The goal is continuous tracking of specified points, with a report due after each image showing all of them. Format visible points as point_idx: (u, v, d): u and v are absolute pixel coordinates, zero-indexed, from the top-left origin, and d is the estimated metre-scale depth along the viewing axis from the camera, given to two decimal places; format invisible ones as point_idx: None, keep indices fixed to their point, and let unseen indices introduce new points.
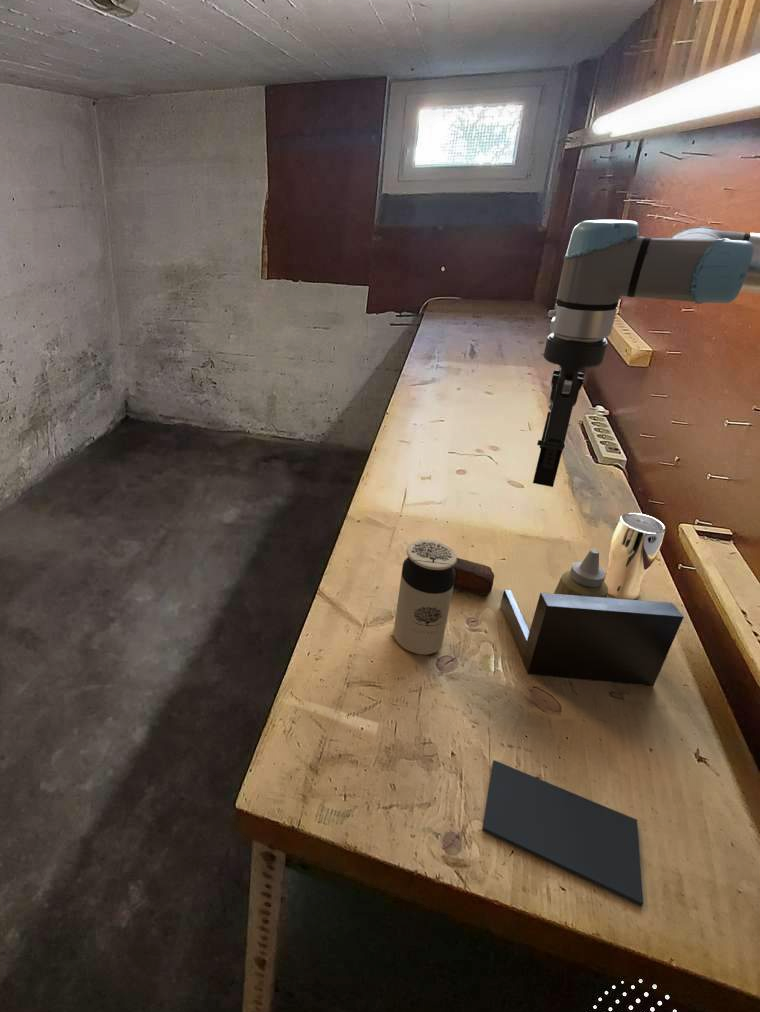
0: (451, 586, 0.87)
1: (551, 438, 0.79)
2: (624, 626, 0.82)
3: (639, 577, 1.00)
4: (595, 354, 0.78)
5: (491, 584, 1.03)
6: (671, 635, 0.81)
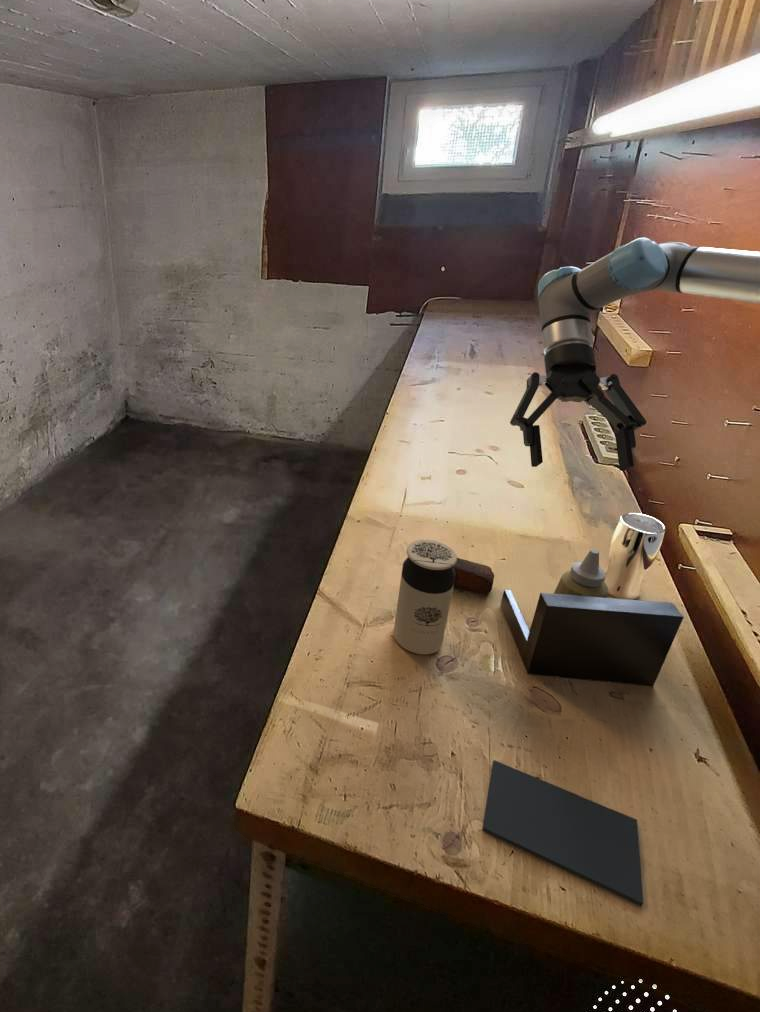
0: (451, 586, 0.87)
1: (514, 416, 0.97)
2: (624, 626, 0.82)
3: (639, 577, 1.00)
4: (559, 353, 0.96)
5: (491, 584, 1.03)
6: (671, 635, 0.81)
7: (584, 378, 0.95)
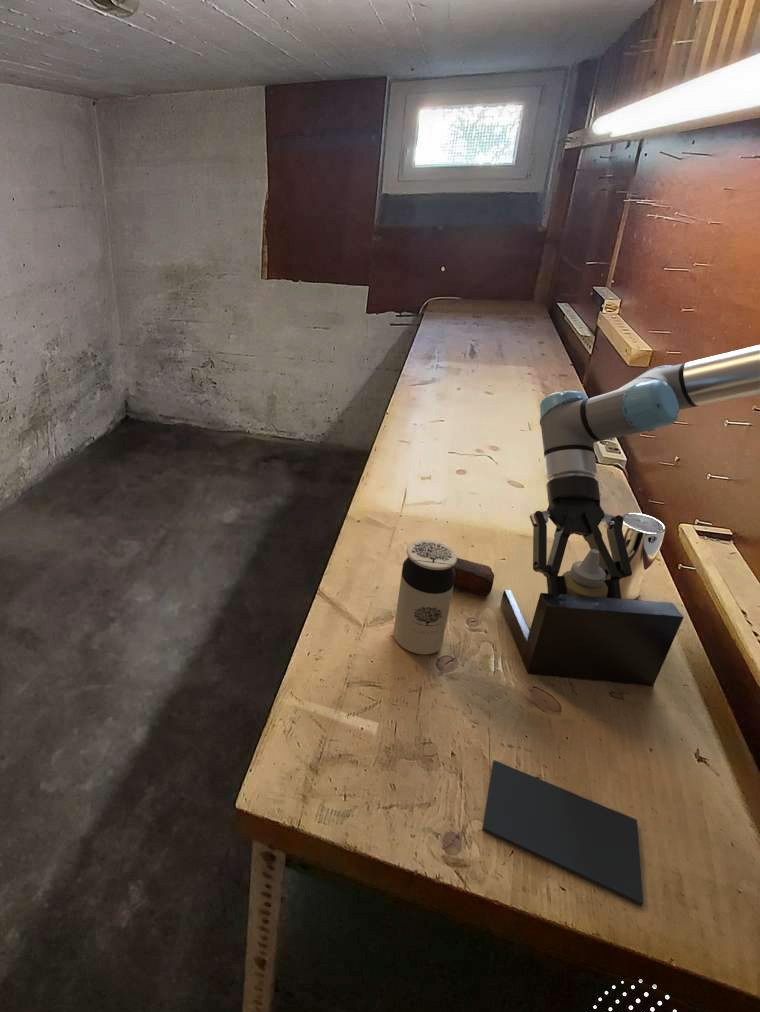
0: (451, 586, 0.87)
1: (535, 562, 0.93)
2: (624, 626, 0.82)
3: (639, 577, 1.00)
4: (561, 485, 0.93)
5: (491, 584, 1.03)
6: (671, 635, 0.81)
7: (588, 513, 0.92)
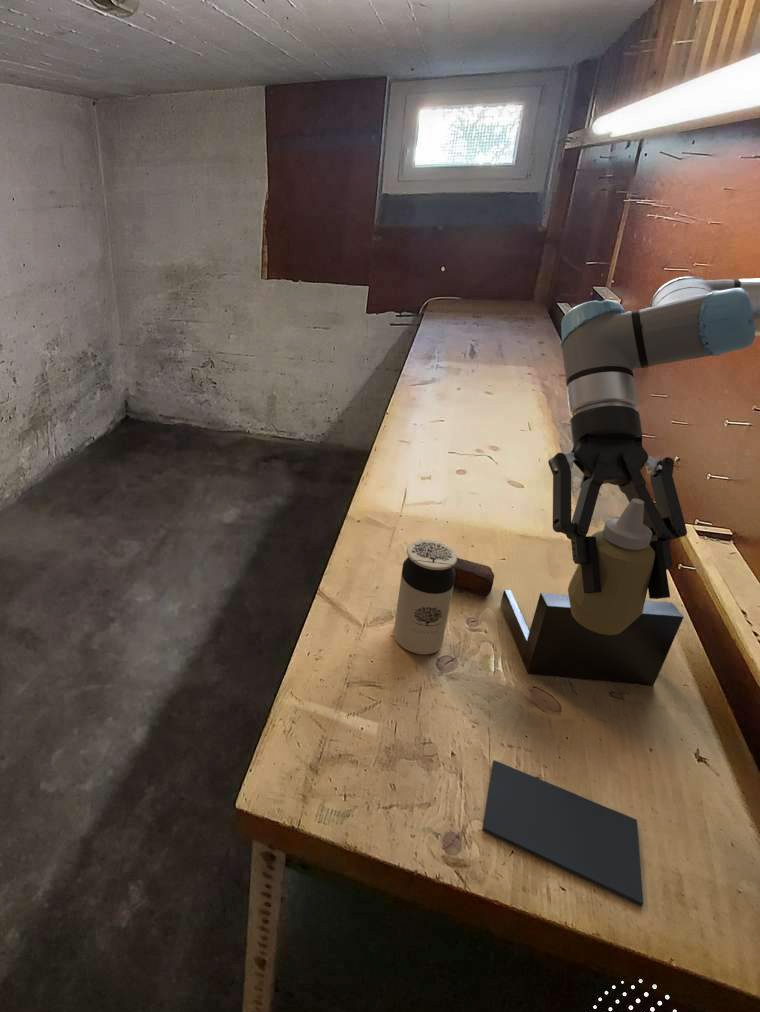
0: (451, 586, 0.87)
1: (555, 520, 0.70)
2: None
3: None
4: (591, 419, 0.71)
5: (491, 584, 1.03)
6: (671, 635, 0.81)
7: (627, 454, 0.69)
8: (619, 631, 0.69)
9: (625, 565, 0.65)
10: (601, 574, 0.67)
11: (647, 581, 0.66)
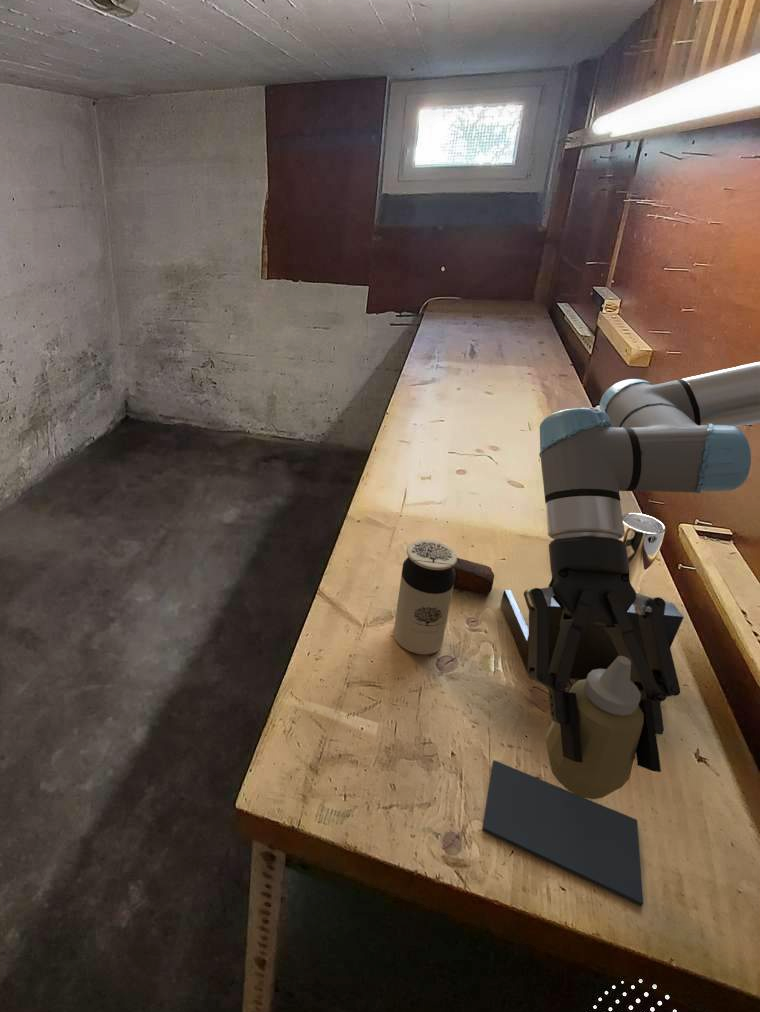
0: (451, 586, 0.87)
1: (531, 667, 0.62)
2: None
3: (639, 577, 1.00)
4: (571, 551, 0.62)
5: (491, 584, 1.03)
6: (671, 635, 0.81)
7: (612, 594, 0.61)
8: (603, 796, 0.61)
9: (610, 733, 0.56)
10: (582, 737, 0.58)
11: (635, 748, 0.57)
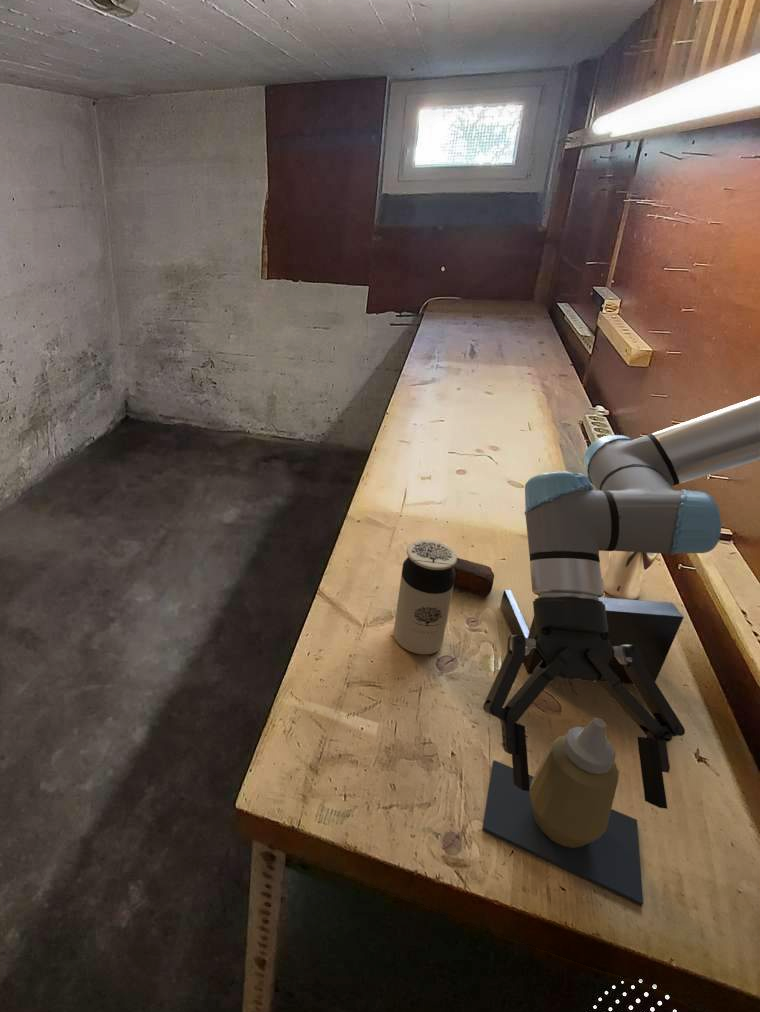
0: (451, 586, 0.87)
1: (488, 700, 0.66)
2: (624, 626, 0.82)
3: (639, 577, 1.00)
4: (553, 611, 0.66)
5: (491, 584, 1.03)
6: (671, 635, 0.81)
7: (591, 653, 0.64)
8: (582, 845, 0.65)
9: (586, 790, 0.60)
10: (562, 792, 0.62)
11: (610, 803, 0.61)
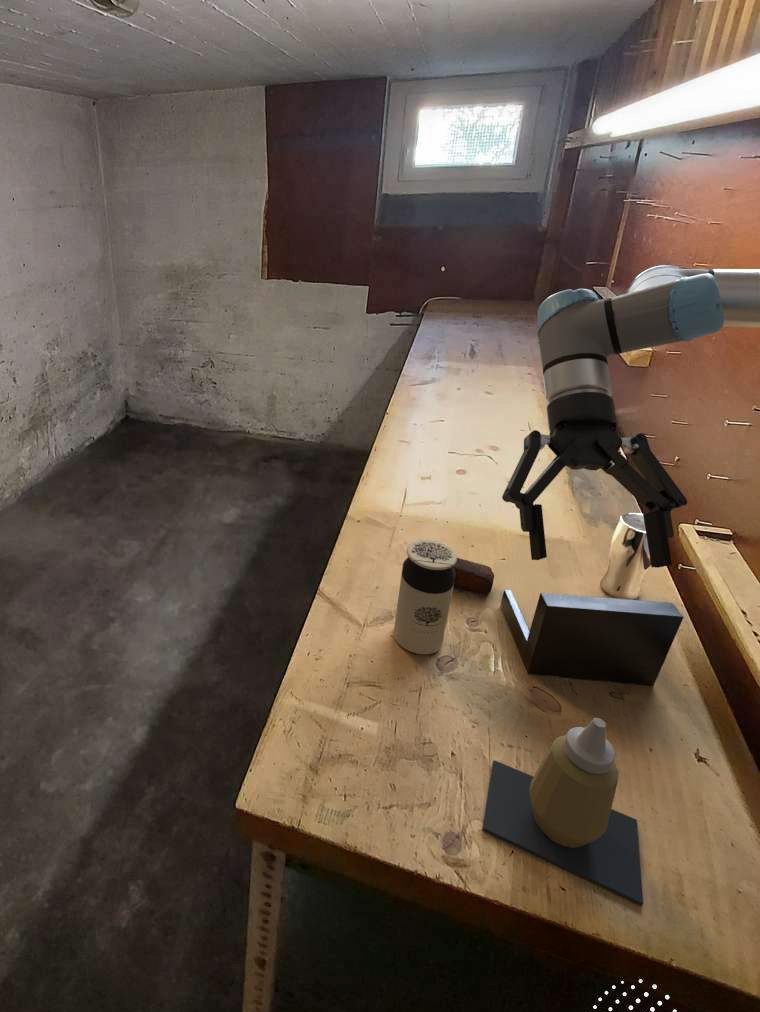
0: (451, 586, 0.87)
1: (507, 489, 0.72)
2: (624, 626, 0.82)
3: (639, 577, 1.00)
4: (566, 405, 0.72)
5: (491, 584, 1.03)
6: (671, 635, 0.81)
7: (601, 440, 0.70)
8: (582, 845, 0.65)
9: (586, 790, 0.60)
10: (562, 792, 0.62)
11: (610, 803, 0.61)
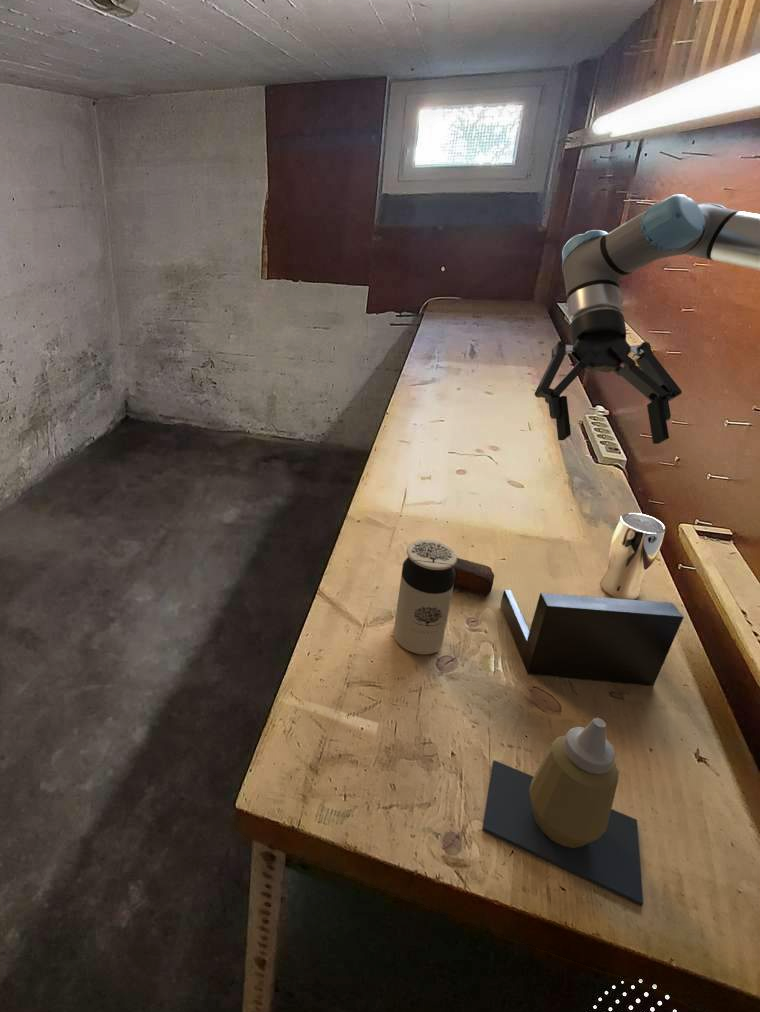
0: (451, 586, 0.87)
1: (538, 387, 0.91)
2: (624, 626, 0.82)
3: (639, 577, 1.00)
4: (586, 320, 0.91)
5: (491, 584, 1.03)
6: (671, 635, 0.81)
7: (614, 346, 0.89)
8: (582, 845, 0.65)
9: (586, 790, 0.60)
10: (562, 792, 0.62)
11: (610, 803, 0.61)
